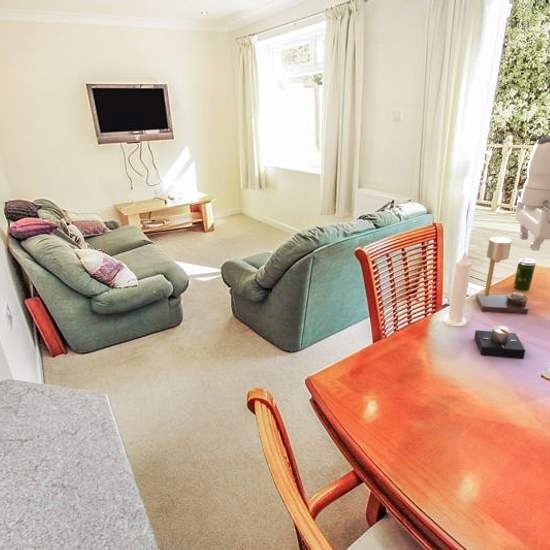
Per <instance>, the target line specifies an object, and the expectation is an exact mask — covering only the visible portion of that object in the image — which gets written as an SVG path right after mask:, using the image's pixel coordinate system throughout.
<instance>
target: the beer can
mask: <svg viewBox="0 0 550 550" xmlns="http://www.w3.org/2000/svg"><path fill="white" fill-rule="evenodd" d="M535 268H536V260H535V259H532V258H527V257H524V258H523V257H522V258H520V259H519V260H518V262H517V267H516V272H515V276H514V282H513V287H512V288H513V289H514V291H516V290H517V291H516V292H521V293H527V292H529V291H530V290H531V285H532V281H533V278H534V277H533V276H534V274H535V273H534V272H535Z"/></svg>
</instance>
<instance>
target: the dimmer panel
mask: <svg viewBox="0 0 550 550" xmlns="http://www.w3.org/2000/svg"><path fill="white" fill-rule="evenodd" d="M491 335H492V330H491V331H490V330H480V329H479V330H478V329H476V330H475V331H474V336H473V338H474V341H475V344H476V346H477V349H478V351H479V354H480V356H487V357H497V358H508V359H520V360H521V359H522V360H523V359H524V358H525V355H526V348H525V347H524V345H523V344H522V342H521V340H520V339H519V337H518V335H517V333H516V332H510V335H509V339H508V342H507V343H505V344H500V343H496V342H494V341H493V340H492V339H491Z"/></svg>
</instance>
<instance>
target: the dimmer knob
mask: <svg viewBox="0 0 550 550" xmlns="http://www.w3.org/2000/svg"><path fill="white" fill-rule="evenodd" d="M491 331H492V335H491V339H492V340H493V341H494V342H496V343H500V344H505V343H507V342H508V339H509V335H510V333H511V330H510V329H509V327H507V326H503V325H494V326H493V327H492V329H491Z"/></svg>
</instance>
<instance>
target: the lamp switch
mask: <svg viewBox="0 0 550 550" xmlns="http://www.w3.org/2000/svg"><path fill="white" fill-rule="evenodd" d="M512 293H513V296H512V298H514V299H517V300H522V298H523V295H524V292H519V291H514V292H512Z"/></svg>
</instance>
